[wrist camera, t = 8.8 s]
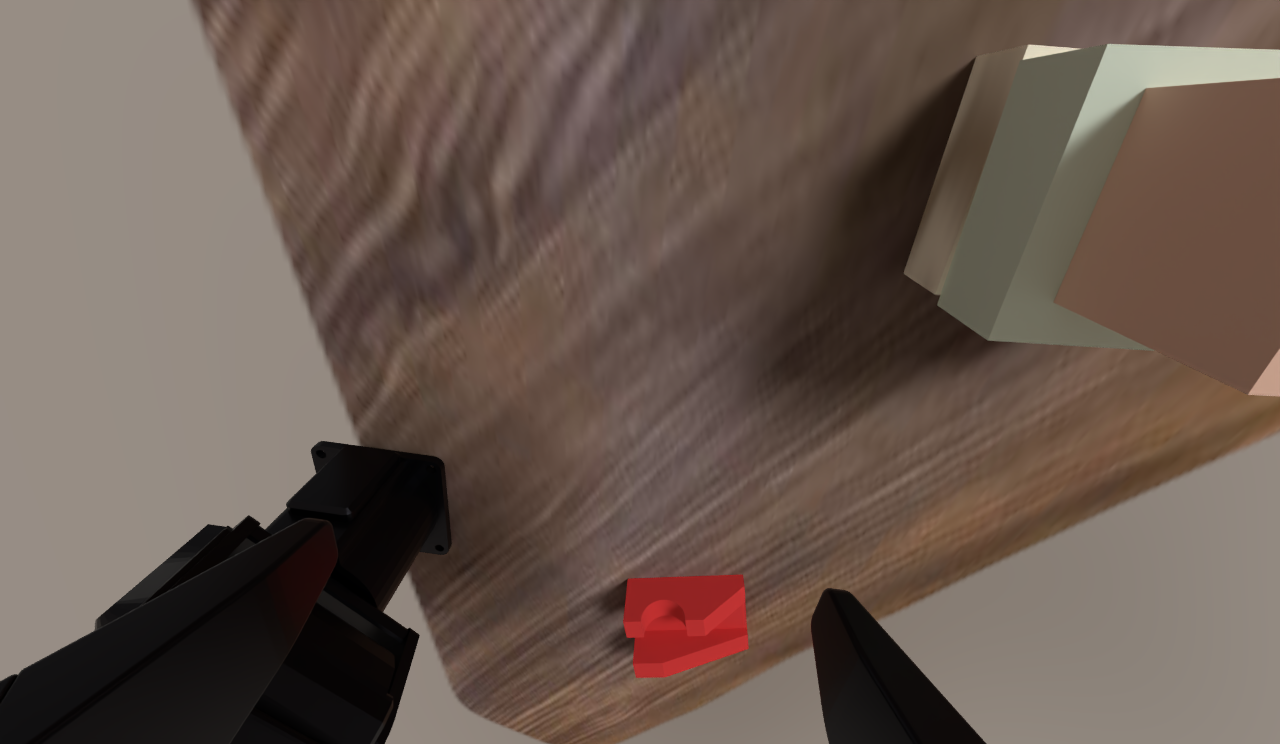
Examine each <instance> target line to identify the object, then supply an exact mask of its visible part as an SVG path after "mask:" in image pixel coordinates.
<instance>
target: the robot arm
mask: <svg viewBox="0 0 1280 744" xmlns="http://www.w3.org/2000/svg"><path fill="white" fill-rule="evenodd" d="M323 451H324V452H323ZM311 454H312V458H313V462H314V466H315V470H316V474H315V475H314V476H313V477H312V478H311V479H310V480H309V481H308V482H307V483H306V484H305V485H304V486H303V487H302V488H301V489H300V490H299V491H298V492H297V493H296V494H295V495H294V496H293V497H292V498H291V499H290V500H289V501H288V502H287V504H286V506H287V509H286V510H285V511H284V512H283V513H281V514H280V515H279V516H278V518H276V520H274V521H273V522H272V523H271V524H270V526H268V527H267V528H266V529H265V530H264V529H263V528H262V527H260V526H259V525H260V523H259V522H258V521H256V520H255V519H254V518H252V517H251V516H247V517H246V518H245V519H244V520H243V521H241V522H240V523H239V524H238V525H236V526H235V527H234V528H233V529H232V528H231V527H229V526H227V527H223V526H216V525H209V524H208V525H207V526H206V527H205V528H203V529H202V530H201V531H200V532H199V533H197V534H196V535H195V536H194V537H193V538H192V539H191V540H189V541H188V542H187V543H186V544H185V545H183V546H182V547H181V548H180V549H179V550H178V551H176V552H175V553H174V554H173V555H172V556H170V557H169V558H168V559H167V560H166V561H165V562H163V563H162V564H161V565H160V566H159V567H158V568H156V569H155V570H154V571H153V572H152V573H150V574H149V575H148V576H147V577H146V578H145V579H143V580H142V581H141V582H140V583H139V584H138V585H136V586H135V587H134V588H133V589H132V590H130V591H129V592H128V593H127V594H126V595H125V596H123V597H122V598H121V599H120V600H119V601H118V602H116V603H115V604H114V605H113V606H111V607H110V608H109V609H108V610H107V611H106V612H105V613H103V614H102V615H101V616H100V617H99V618H98V619H97V620H96V623H95V631H93V632H91V633H90V634H88V635H86V636H84V637H82V638H80V639H78V640H77V641H75V642H73V643H71V644H69V645H67V646H65V647H64V648H62V649H60V650H58V651H56V652H54V653H52V654H51V655H49V656H47V657H45V658H43V659H41V660H39V661H37V662H36V663H34V664H32V665H30V666H28V667H26V668H24V669H23V670H22V671H21V672H20V673H19V674H18V675H17V674H14V675H11V676H9V677H7V678H6V679H4V680H2V681H0V744H385V742H386V739H387V737H388V735H389V733H390V730H391V728H392V725H393V722H394V720H395V717H396V713H397V709H398V707H399V703H400V700H401V696H402V693H403V690H404V686H405V683H406V680H407V676H408V673H409V670H410V666H411V663H412V659H413V656H414V652H415V649H416V646H417V643H418V639H419V634H418V633H416V632H415V631H413V630H412V629H411V628H408V629H406V628H405V627H403V626H402V625H401V624H399V623H398V622H396V621H395V620H393V619H392V618H391V617H389V616H388V615H386V614H384V613H383V611H384V609H385V608H386V606H387V604H388V603H389V601H390V600H391V598H392V596H393V594H394V593H395V591H396V590H397V588H398V586H399V584H400V583H401V581H402V579H403V578H404V576H405V575H406V573H407V571H408V570H409V568H410V566H411V565H412V563H413V561H414V560H415V558H416V556H417V555H418V553H419V552H425V553H432V554H439V555H444V554H447V552H448V551H449V549H450V547H451V544H452V543H451V532H450V521H449V510H448V499H447V488H446V477H445V466H444V463H443V462H442V460H441V459H439V458H437V457H434V456H427V455H420V454H413V453H405V452H398V451H391V450H384V449H377V448H370V447H363V446H355V445H348V444H341V443H334V442H327V441H321V442H318V443H317V444H316V445H315V446H314V447H313V448H312V449H311ZM430 465H431V466H433V467H435V468H432V467H431V466H430ZM811 633H812V640H813V647H814V653H815V661H816V669H817V676H818V683H819V690H820V697H821V705H822V711H823V717H824V723H825V727H826V732H827V737H828V741H829V744H986V743H985V742H984V741H983V739H982V738H981V737H980V736H979V735H978V734H977V733H976V732H975V730H974V729H973V728H972V727H971V726H970V725H969V724H968V723H967V722H966V720H965V719H964V718H963V717H962V716H961V715H960V714H959V713H958V712H957V710H956V709H955V708H954V707H953V706H952V705H951V704H950V703H949V702H948V700H947V699H946V698H945V697H944V696H943V695H942V694H941V693H940V691H939V690H938V689H937V688H936V687H935V686H934V685H933V684H932V683H931V681H930V680H929V679H928V678H927V677H926V676H925V675H924V674H923V673H922V672H921V670H920V669H919V668H918V667H917V666H916V665H915V664H914V662H913V661H912V660H911V659H910V658H909V657H908V656H907V655H906V654H905V653H904V651H903V650H902V649H901V648H900V647H899V646H898V645H897V644H896V642H895V641H894V640H893V639H892V638H891V637H890V636H889V635H888V633H887V632H886V631H885V630H884V629H883V628H882V627H881V626H880V625H879V623H878V622H877V621H876V620H875V619H874V618H873V617H872V616H871V614H870V613H869V612H868V611H867V610H866V609H865V608H864V607H863V606H862V604H861V603H860V602H859V601H858V600H857V599H856V598H855V597H854V596H853V595H852V594H851V593H850V592H848V591H846V590H840V589H832V588H827V589H826V590H824V592H823V593H822V595H821V598H820V600H819V602H818V604H817V607H816V609H815V611H814V613H813V616H812V620H811Z"/></svg>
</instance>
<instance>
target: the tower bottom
mask: <svg viewBox="0 0 1280 744" xmlns="http://www.w3.org/2000/svg"><path fill="white" fill-rule="evenodd" d="M1073 50H1078V49H1077V48H1065V47H1052V46H1039V45H1025V46H1020V47H1016V48H1011V49H1007V50H1002V51H998V52H993V53H989V54H985V55H980V56H976V59H975V62H974V65H973V68H972V71H971V74H970V77H969V80H968V83H967V86H966V89H965V92H964V95H963V98H962V101H961V104H960V107H959V110H958V113H957V116H956V119H955V122H954V125H953V128H952V131H951V134H950V137H949V139H948V142H947V145H946V148H945V151H944V154H943V157H942V160H941V163H940V166H939V169H938V172H937V175H936V178H935V181H934V184H933V187H932V190H931V193H930V196H929V199H928V202H927V205H926V208H925V211H924V214H923V217H922V220H921V223H920V226H919V229H918V232H917V235H916V238H915V241H914V244H913V246H912V249H911V252H910V255H909V258H908V261H907V264H906V267H905V270H904V273H903V274H905V275H906V276H908V277H909V278H911V279H912V280H914V281H915V282H917V283H918V284H920V285H921V286H923V287H924V288H926V289H927V290H929V291H930V292H932V293H933V294H935V295H941V292H942V289H943V286H944V283H945V280H946V277H947V274H948V271H949V268H950V265H951V262H952V260H953V257H954V254H955V251H956V248H957V245H958V242H959V239H960V236H961V233H962V230H963V227H964V224H965V221H966V218H967V215H968V212H969V210H970V207H971V204H972V201H973V198H974V195H975V192H976V189H977V186H978V183H979V180H980V177H981V174H982V171H983V168H984V165H985V163H986V160H987V157H988V154H989V151H990V148H991V145H992V142H993V139H994V136H995V133H996V130H997V127H998V124H999V121H1000V118H1001V115H1002V112H1003V109H1004V106H1005V103H1006V100H1007V98H1008V95H1009V92H1010V89H1011V86H1012V83H1013V80H1014V77H1015V74H1016V71H1017V68H1018V65H1019V62H1020V60H1025V59H1030V58H1035V57H1041V56H1046V55H1052V54H1057V53H1062V52H1068V51H1073Z"/></svg>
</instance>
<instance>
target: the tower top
mask: <svg viewBox="0 0 1280 744" xmlns="http://www.w3.org/2000/svg"><path fill="white" fill-rule="evenodd" d="M1272 78H1280V50H1266V49H1237V48H1208V47H1179V46H1150V45H1122V44H1105V45H1100V46H1095V47H1089V48H1084V49H1078V50H1073V51H1068V52H1062V53H1057V54H1052V55H1046V56H1041V57H1035V58H1030V59H1025V60H1020V62H1019V65H1018V68H1017V71H1016V74H1015V77H1014V80H1013V83H1012V86H1011V89H1010V92H1009V95H1008V98H1007V100H1006V103H1005V106H1004V109H1003V112H1002V115H1001V118H1000V121H999V124H998V127H997V130H996V133H995V136H994V139H993V142H992V145H991V148H990V151H989V154H988V157H987V160H986V163H985V165H984V168H983V171H982V174H981V177H980V180H979V183H978V186H977V189H976V192H975V195H974V198H973V201H972V204H971V207H970V210H969V212H968V215H967V218H966V221H965V224H964V227H963V230H962V233H961V236H960V239H959V242H958V245H957V248H956V251H955V254H954V257H953V260H952V262H951V265H950V268H949V271H948V274H947V277H946V280H945V283H944V286H943V289H942V292H941V295H940V298H939V301H938V304H937V306H939V307H940V308H942V309H943V310H945V311H946V312H947V313H949V314H950V315H952V316H953V317H955V318H956V319H958V320H959V321H960V322H962V323H963V324H965V325H966V326H968V327H969V328H970V329H972V330H973V331H975V332H976V333H978V334H979V335H980V336H982V337H983V338H985V339H986V340H988V341H1003V342H1020V343H1036V344H1053V345H1069V346H1085V347H1102V348H1118V349H1135V350H1151V351H1155V350H1153V349H1150V348H1148V347H1146V346H1144V345H1142V344H1140V343H1138V342H1136V341H1134V340H1132V339H1129V338H1127V337H1125V336H1123V335H1121V334H1119V333H1117V332H1115V331H1113V330H1110V329H1108V328H1106V327H1104V326H1102V325H1100V324H1098V323H1096V322H1094V321H1091V320H1089V319H1087V318H1085V317H1083V316H1081V315H1079V314H1077V313H1075V312H1073V311H1070V310H1068V309H1066V308H1064V307H1062V306H1060V305H1058V304H1056V303H1054V300H1055V297H1056V295H1057V293H1058V290H1059V288H1060V286H1061V283H1062V281H1063V279H1064V277H1065V274H1066V272H1067V270H1068V267H1069V265H1070V263H1071V260H1072V258H1073V256H1074V253H1075V251H1076V249H1077V247H1078V244H1079V242H1080V240H1081V237H1082V235H1083V233H1084V230H1085V228H1086V226H1087V223H1088V221H1089V219H1090V217H1091V214H1092V212H1093V210H1094V207H1095V205H1096V203H1097V200H1098V198H1099V196H1100V193H1101V191H1102V189H1103V187H1104V184H1105V182H1106V180H1107V177H1108V175H1109V173H1110V170H1111V168H1112V166H1113V163H1114V161H1115V159H1116V156H1117V154H1118V152H1119V150H1120V147H1121V145H1122V143H1123V140H1124V138H1125V136H1126V133H1127V131H1128V129H1129V126H1130V124H1131V122H1132V120H1133V117H1134V115H1135V113H1136V110H1137V108H1138V106H1139V103H1140V101H1141V99H1142V96H1143V94H1144V92H1145V90H1146V88H1155V87H1168V86H1181V85H1194V84H1207V83H1220V82H1233V81H1246V80H1259V79H1272Z"/></svg>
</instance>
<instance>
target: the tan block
mask: <svg viewBox="0 0 1280 744" xmlns="http://www.w3.org/2000/svg"><path fill="white" fill-rule="evenodd" d="M1054 303H1056V304H1058V305H1060V306H1062V307H1064V308H1066V309H1068V310H1070V311H1073V312H1075V313H1077V314H1079V315H1081V316H1083V317H1085V318H1087V319H1089V320H1091V321H1094V322H1096V323H1098V324H1100V325H1102V326H1104V327H1106V328H1108V329H1110V330H1113V331H1115V332H1117V333H1119V334H1121V335H1123V336H1125V337H1127V338H1129V339H1132V340H1134V341H1136V342H1138V343H1140V344H1142V345H1144V346H1146V347H1148V348H1150V349H1153V350H1155V351H1157V352H1159V353H1161V354H1163V355H1165V356H1167V357H1169V358H1172V359H1174V360H1176V361H1178V362H1180V363H1182V364H1184V365H1186V366H1188V367H1191V368H1193V369H1195V370H1197V371H1199V372H1201V373H1203V374H1205V375H1207V376H1209V377H1212V378H1214V379H1216V380H1218V381H1220V382H1222V383H1224V384H1226V385H1228V386H1231V387H1233V388H1235V389H1237V390H1239V391H1241V392H1243V393H1245V394H1247V395H1265V396H1280V78H1272V79H1259V80H1246V81H1233V82H1220V83H1207V84H1194V85H1181V86H1168V87H1155V88H1146V90H1145V92H1144V94H1143V96H1142V99H1141V101H1140V103H1139V106H1138V108H1137V110H1136V113H1135V115H1134V117H1133V120H1132V122H1131V124H1130V126H1129V129H1128V131H1127V133H1126V136H1125V138H1124V140H1123V143H1122V145H1121V147H1120V150H1119V152H1118V154H1117V156H1116V159H1115V161H1114V163H1113V166H1112V168H1111V170H1110V173H1109V175H1108V177H1107V180H1106V182H1105V184H1104V187H1103V189H1102V191H1101V193H1100V196H1099V198H1098V200H1097V203H1096V205H1095V207H1094V210H1093V212H1092V214H1091V217H1090V219H1089V221H1088V223H1087V226H1086V228H1085V230H1084V233H1083V235H1082V237H1081V240H1080V242H1079V244H1078V247H1077V249H1076V251H1075V253H1074V256H1073V258H1072V260H1071V263H1070V265H1069V267H1068V270H1067V272H1066V274H1065V277H1064V279H1063V281H1062V283H1061V286H1060V288H1059V290H1058V293H1057V295H1056V297H1055V300H1054Z"/></svg>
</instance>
